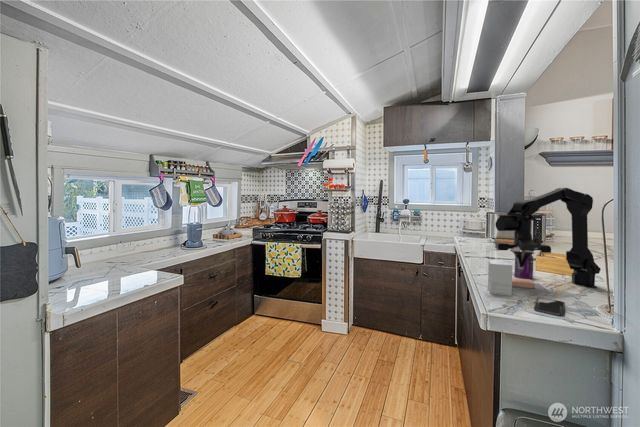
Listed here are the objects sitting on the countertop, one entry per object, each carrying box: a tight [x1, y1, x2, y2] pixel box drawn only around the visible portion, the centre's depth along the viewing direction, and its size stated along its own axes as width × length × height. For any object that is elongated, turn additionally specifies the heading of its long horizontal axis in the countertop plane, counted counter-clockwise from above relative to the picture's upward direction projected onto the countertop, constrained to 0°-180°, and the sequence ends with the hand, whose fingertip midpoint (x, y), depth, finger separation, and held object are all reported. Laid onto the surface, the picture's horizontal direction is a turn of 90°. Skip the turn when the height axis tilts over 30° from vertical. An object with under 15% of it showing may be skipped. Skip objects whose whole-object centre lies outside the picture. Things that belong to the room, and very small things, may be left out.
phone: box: [533, 297, 566, 317], centre depth 98 cm, size 8×1×15 cm
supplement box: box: [487, 259, 513, 297], centre depth 113 cm, size 7×7×13 cm
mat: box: [512, 282, 551, 293], centre depth 120 cm, size 14×12×1 cm
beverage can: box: [513, 254, 534, 280], centre depth 134 cm, size 7×7×12 cm
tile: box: [512, 277, 536, 288], centre depth 121 cm, size 2×6×10 cm
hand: (521, 267), depth 120 cm, fingers closed
